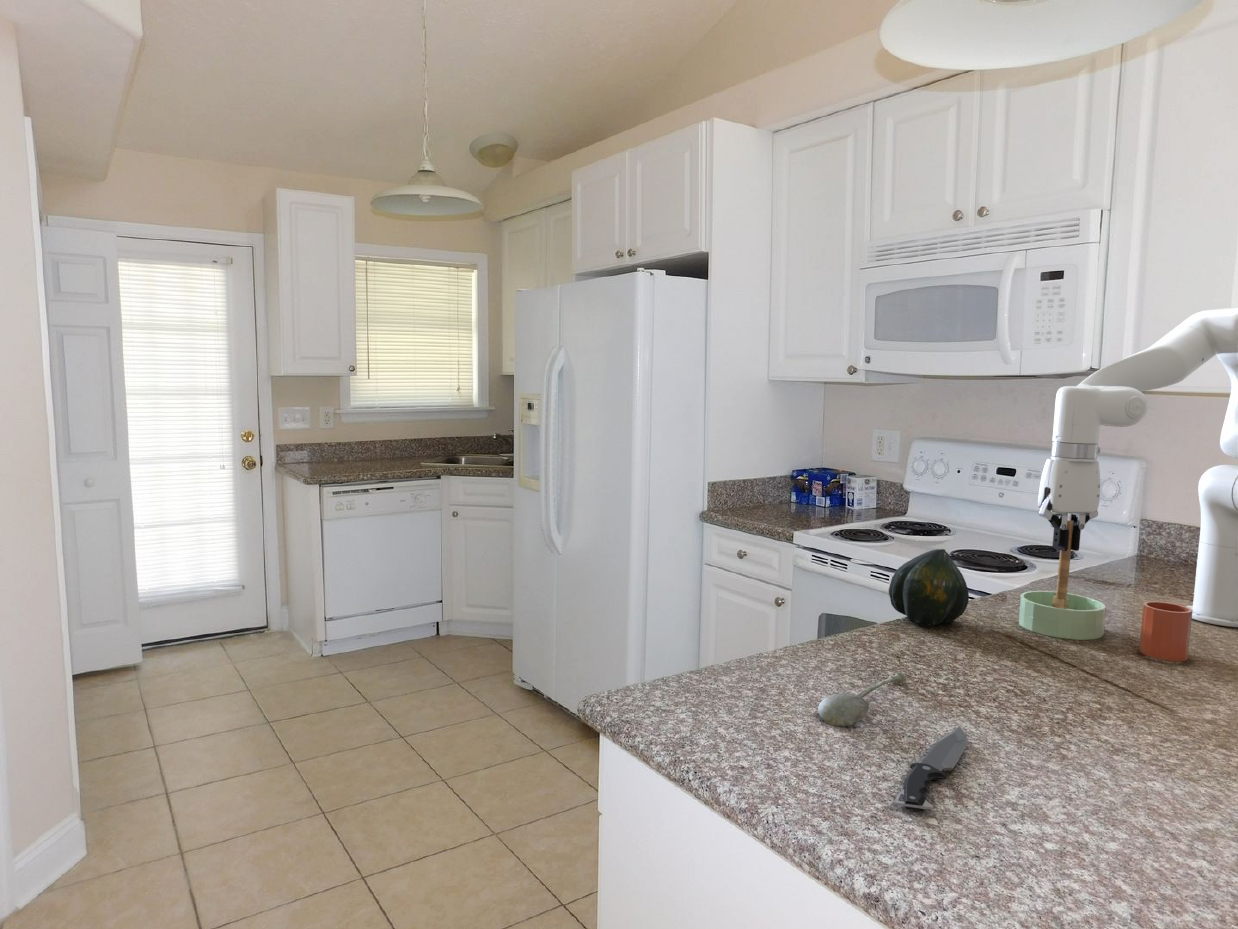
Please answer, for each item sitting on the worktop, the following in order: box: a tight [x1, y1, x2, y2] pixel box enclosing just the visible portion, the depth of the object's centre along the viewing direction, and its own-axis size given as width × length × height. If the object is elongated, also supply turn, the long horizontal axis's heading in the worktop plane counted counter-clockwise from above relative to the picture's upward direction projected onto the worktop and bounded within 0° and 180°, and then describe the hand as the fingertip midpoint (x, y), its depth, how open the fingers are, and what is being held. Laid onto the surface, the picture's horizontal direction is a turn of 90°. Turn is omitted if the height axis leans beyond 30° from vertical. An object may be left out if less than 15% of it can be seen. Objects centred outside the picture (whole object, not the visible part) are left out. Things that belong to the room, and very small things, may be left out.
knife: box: [894, 725, 968, 811], centre depth 98 cm, size 26×1×5 cm
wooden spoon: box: [1052, 519, 1074, 609], centre depth 153 cm, size 3×2×18 cm, turn 12°
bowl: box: [1017, 590, 1107, 641], centre depth 154 cm, size 14×14×6 cm
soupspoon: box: [817, 671, 906, 727], centre depth 117 cm, size 22×3×7 cm
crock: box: [1138, 600, 1193, 662], centre depth 140 cm, size 7×7×9 cm
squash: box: [888, 548, 970, 626], centre depth 159 cm, size 14×15×15 cm
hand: (1065, 548), depth 153 cm, fingers closed on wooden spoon, 1 cm apart
